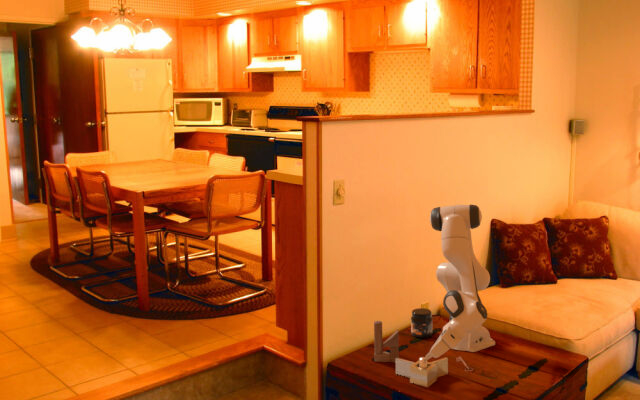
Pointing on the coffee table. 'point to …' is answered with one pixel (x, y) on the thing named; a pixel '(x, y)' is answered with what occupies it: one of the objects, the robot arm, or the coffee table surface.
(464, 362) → the key
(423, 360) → the rounded cylinder
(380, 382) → the coffee table surface
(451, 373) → the coffee table surface
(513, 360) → the coffee table surface
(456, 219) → the robot arm
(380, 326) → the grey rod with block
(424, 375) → the cream winged socket block
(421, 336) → the supplement container
